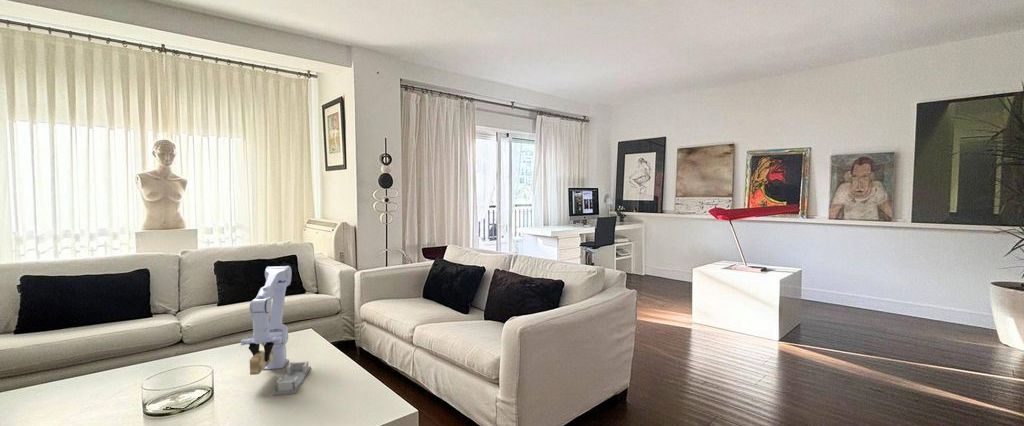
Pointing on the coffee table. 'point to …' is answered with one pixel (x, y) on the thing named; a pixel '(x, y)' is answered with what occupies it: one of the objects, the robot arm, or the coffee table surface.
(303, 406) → the coffee table surface
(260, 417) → the coffee table surface
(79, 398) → the coffee table surface
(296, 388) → the end cap cradle
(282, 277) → the robot arm
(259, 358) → the oak slat
